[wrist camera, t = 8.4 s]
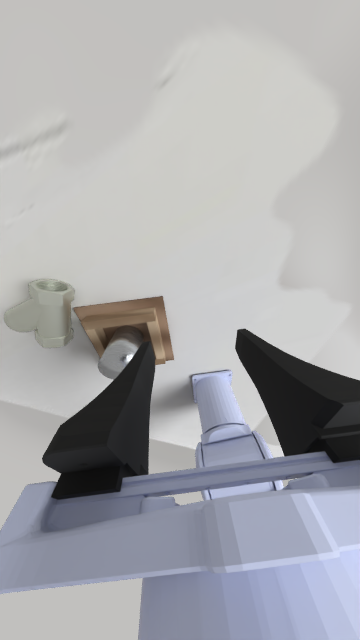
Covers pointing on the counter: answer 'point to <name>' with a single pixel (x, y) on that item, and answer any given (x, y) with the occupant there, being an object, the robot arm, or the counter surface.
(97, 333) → the cradle board
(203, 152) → the counter surface
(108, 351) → the silver metal cylinder
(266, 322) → the counter surface
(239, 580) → the robot arm
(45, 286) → the pipe fitting
